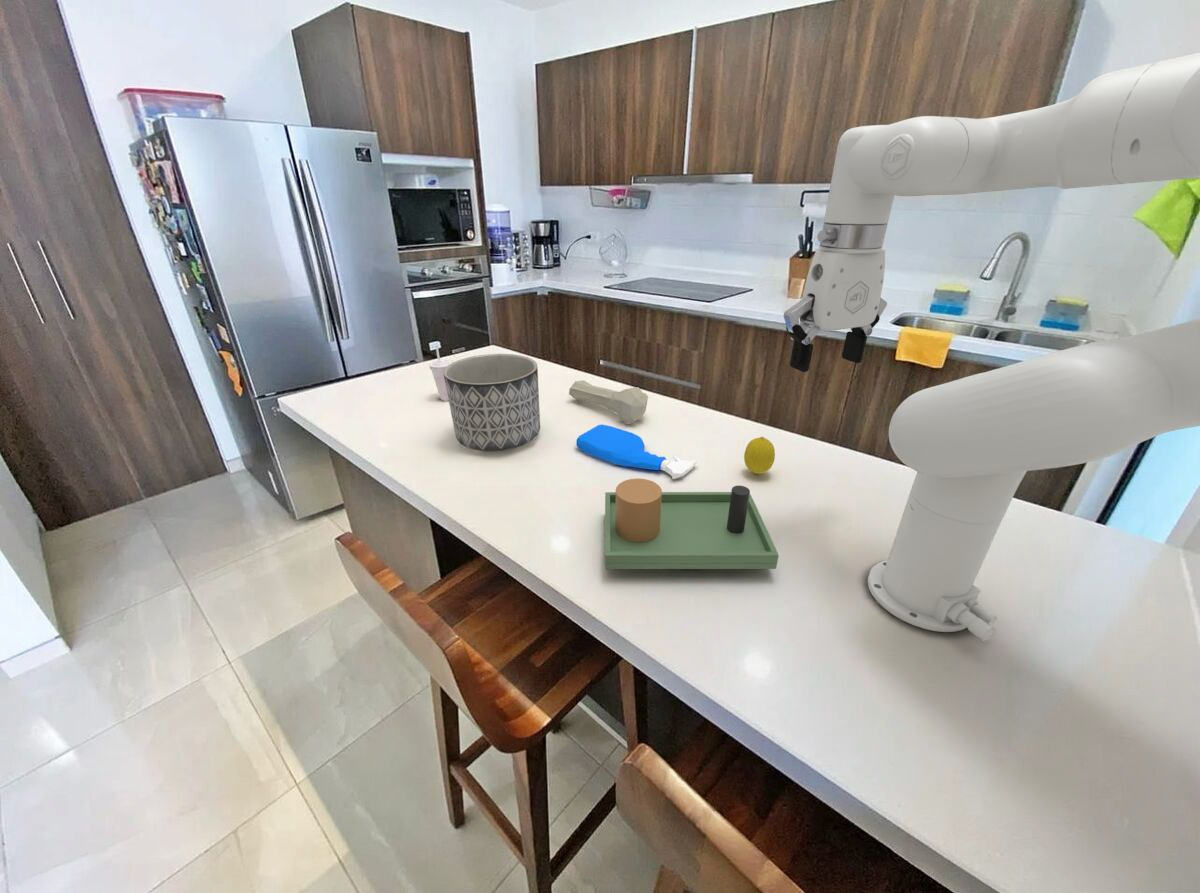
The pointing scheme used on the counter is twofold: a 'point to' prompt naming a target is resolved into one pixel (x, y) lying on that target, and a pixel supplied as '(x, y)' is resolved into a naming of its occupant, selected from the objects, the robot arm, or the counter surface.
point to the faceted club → (613, 399)
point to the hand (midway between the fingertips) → (825, 364)
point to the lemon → (759, 455)
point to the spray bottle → (628, 451)
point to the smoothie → (440, 375)
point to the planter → (494, 401)
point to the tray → (696, 534)
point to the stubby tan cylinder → (638, 510)
